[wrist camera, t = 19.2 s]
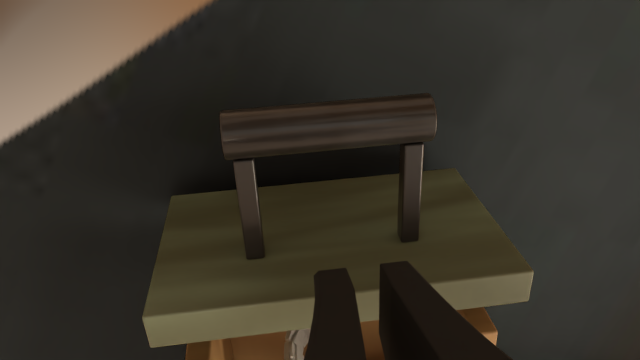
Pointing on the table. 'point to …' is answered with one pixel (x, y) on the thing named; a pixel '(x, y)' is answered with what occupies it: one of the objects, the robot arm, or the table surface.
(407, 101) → the drawer
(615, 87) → the table surface
